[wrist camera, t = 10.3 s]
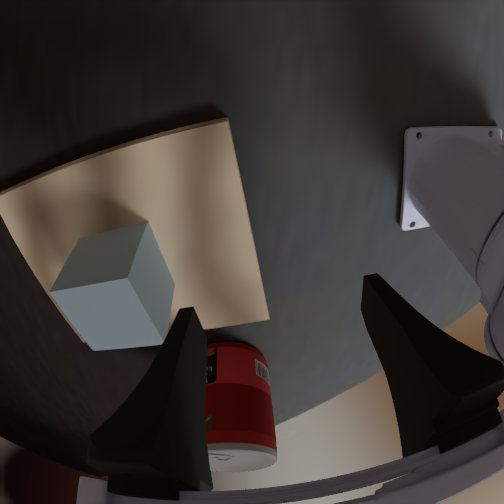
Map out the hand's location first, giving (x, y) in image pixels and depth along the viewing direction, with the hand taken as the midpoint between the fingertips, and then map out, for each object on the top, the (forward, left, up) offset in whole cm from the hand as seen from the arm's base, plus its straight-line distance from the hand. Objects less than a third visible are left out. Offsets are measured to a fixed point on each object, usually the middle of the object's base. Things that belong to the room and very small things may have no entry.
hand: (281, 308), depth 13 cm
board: (+10, +2, -9) cm, 14 cm away
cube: (+10, +2, -8) cm, 13 cm away
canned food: (+6, +17, -10) cm, 20 cm away
